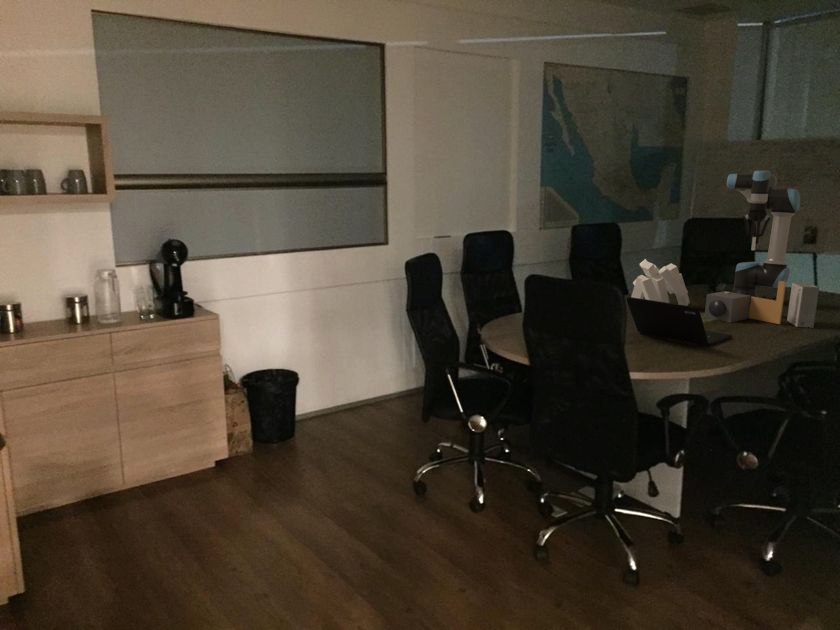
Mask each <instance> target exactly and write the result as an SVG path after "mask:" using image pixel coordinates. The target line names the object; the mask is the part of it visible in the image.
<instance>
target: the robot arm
mask: <svg viewBox="0 0 840 630" xmlns="http://www.w3.org/2000/svg"><path fill="white" fill-rule="evenodd" d="M777 182H778V179H777V177H776V176H775V175H774V174H772V173H771V170H755V171H753V173H730V174H729V175H728V176H727V180H726V187H727V188H728V189H733V190H734V189H735V190H737V191H738V192H739V193H741V194H742V195H743V196H744V197H745V198H746V201H747V202H748V203H749V209H748V213H747V214H746V215H743V216H742V219H743V222H744V226H745V233H746V236H748V237H750V238H749V244H751V249H750V250H751V251H756V247H757V245H758V244H759V241H760V238H761V237H762V236H764V234H765V232H766V229H767V227H768V224H769V222H770V221H771V220H772V224H771V225H772V226H771V232H770V238H769V244H768V251H767V257H766V260H764V261H763V264H762V265H761V264H760V262H759V261H747V262H745V261H743V262H739V263H737V264H736V267H735V271H734V272H735V273H734V275H735V276H734V283H733V289H732V291H731V293H738V294H744V295H750V302H751V297H758V298H759V296H758V291H757V287H765V288H772V289H774V288H776V289H778V283H779V281H785V282H786V283H787V281H788V279H789V277H790V271H791V269H790V267H787V266H788V264H787V263H786V260H785V259H786V253H787V248H788V247H787V246H788V239H789V234H790V233H789V232H790V227H791V226H790V225H791V222H792V221H791V220H792V217H794V215H795V214H796V212H798V211H799V210H800V206H801V195H800V192H799V190H798V189H796V188H775V186H776V185H777ZM767 210H770V214H771V215H772V216H773V218H772V217H771V216H769V215H768V213H767ZM749 219H750V221H751V225H749ZM763 220H765V222H764V224H763V226H762V230H761V225H762V221H763ZM756 222H757V224H756ZM755 226H756V227H755ZM755 229H756V233H755ZM756 244H757V245H756ZM749 306H750V304H749Z"/></svg>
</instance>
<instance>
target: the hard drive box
mask: <svg viewBox="0 0 840 630" xmlns="http://www.w3.org/2000/svg"><path fill="white" fill-rule="evenodd" d="M819 292H820V287H819V286H816V285H815V284H811V283H809V282H796V281H794V282H792V283H791V288H790V294H789V295H790V296H789V303H788V311H787V320H786V321H787V322H789V323H790V324H792V325H793V326H794V327H796V328H808V327H809V329H813V328H815V319H816V318H815V317H816V314H817V306H818V298H819Z"/></svg>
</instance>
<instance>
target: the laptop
mask: <svg viewBox="0 0 840 630" xmlns="http://www.w3.org/2000/svg"><path fill="white" fill-rule="evenodd" d="M626 301H627V306H628V307H629V308H628V309H629V311H630V314H631V316H632V319H633V322H634V324H635V327H636V331H637V333H640V334H642V335H643V334H644V335H649V336H653V335H654V336H653V337H658V336H659V337H658V338H663V337H665V338H664V339H668V338H670V340H673V339H675V340H674V341H679V340H681V341H680V342H684V341H686V342H685V343H689V342H690V343H691V344H694V343H696V345H700V346H705V347H709V346H712V345H714V344H717V343H720V342H722V341H725V340H727V339H730V338H732V334H727V333H724V332H723V333H722V332H716V331H711V330H710V331H709V330H706V329H705V325H704V322H703V319H702V314H701V311H700V308H699V307H697V306H693V305H692V306H691V305H688V306H686V305H679V304H678V303H672V302H670V303H666V302H659V301H653V300H647V299H645V298H644V299H640V298H633V297H631V296H627V298H626Z"/></svg>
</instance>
